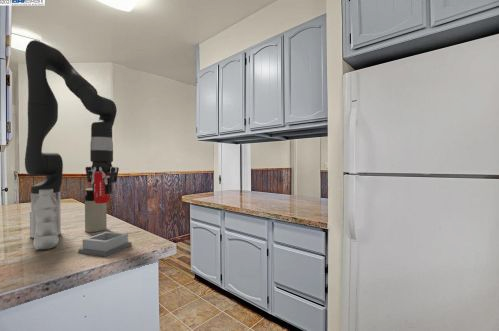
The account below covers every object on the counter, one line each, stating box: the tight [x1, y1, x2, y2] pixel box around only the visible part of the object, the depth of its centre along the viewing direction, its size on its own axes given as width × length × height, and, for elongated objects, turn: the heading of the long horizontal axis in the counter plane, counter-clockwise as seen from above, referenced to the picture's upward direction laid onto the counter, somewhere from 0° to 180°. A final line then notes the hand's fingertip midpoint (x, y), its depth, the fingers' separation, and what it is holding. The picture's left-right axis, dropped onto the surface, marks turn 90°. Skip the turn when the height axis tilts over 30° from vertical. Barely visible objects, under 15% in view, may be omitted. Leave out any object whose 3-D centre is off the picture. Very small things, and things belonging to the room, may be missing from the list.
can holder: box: [78, 231, 132, 257], centre depth 86 cm, size 11×11×4 cm
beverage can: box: [94, 171, 111, 204], centre depth 97 cm, size 5×5×12 cm
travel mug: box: [84, 187, 108, 233], centre depth 110 cm, size 8×8×18 cm
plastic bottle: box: [33, 189, 60, 250], centre depth 86 cm, size 6×7×20 cm
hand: (102, 193), depth 97 cm, fingers closed on beverage can, 5 cm apart
